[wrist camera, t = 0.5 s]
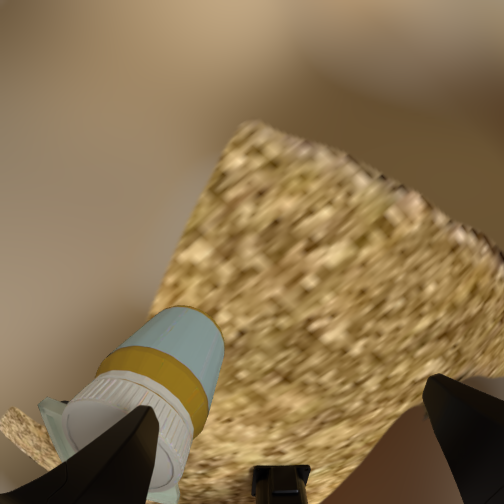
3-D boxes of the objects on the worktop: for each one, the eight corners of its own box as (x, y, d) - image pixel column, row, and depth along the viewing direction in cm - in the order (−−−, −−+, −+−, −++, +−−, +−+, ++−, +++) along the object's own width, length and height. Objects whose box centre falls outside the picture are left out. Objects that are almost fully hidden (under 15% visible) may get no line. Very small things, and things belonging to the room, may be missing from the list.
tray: (182, 485, 25) (176, 506, 21) (78, 455, 26) (66, 470, 22) (172, 422, 25) (162, 445, 21) (54, 390, 25) (37, 404, 21)
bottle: (182, 385, 24) (126, 502, 9) (136, 327, 24) (34, 412, 9) (241, 352, 24) (224, 482, 9) (193, 288, 23) (108, 366, 8)
